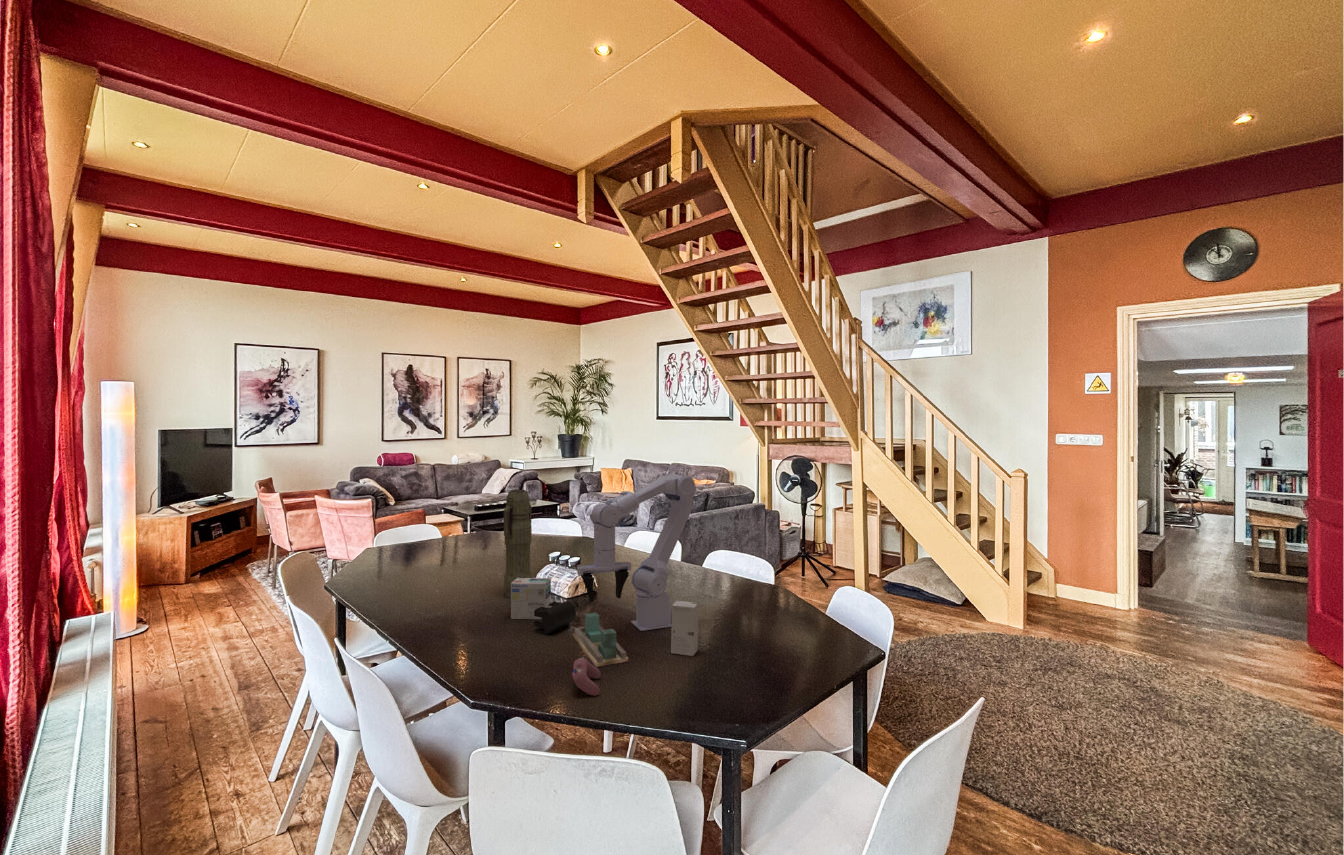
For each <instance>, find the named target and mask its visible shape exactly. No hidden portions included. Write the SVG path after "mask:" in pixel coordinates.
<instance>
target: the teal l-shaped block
mask: <svg viewBox="0 0 1344 855" xmlns="http://www.w3.org/2000/svg"><path fill="white" fill-rule="evenodd" d="M599 625H600V614H598V612H586V613H585V614H584V627H585V635H586V636H587V638H588V639H589V640H590V641H591V642H592V643H595V642H601V632H600V631H599Z"/></svg>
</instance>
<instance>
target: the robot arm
mask: <svg viewBox="0 0 1344 855" xmlns="http://www.w3.org/2000/svg"><path fill="white" fill-rule="evenodd" d="M697 490H698V489H697V486H696V484H695V481H694V478H693V477H691V475H689V474H683V475H681V474H676V473H675V474H673V473H669V472H668V473H665V474H664V475H661V476H659V477H658V478H656V479H655V480H653V481H652V482H650V483H649V484H647V485H645V486H643V487H642V488H640V489H638V490H636V491H635V492H632V491H629V490H628V491H626V490H623V491H621V492H620V495H617V496H616V497H614V498H612V499H611V498H609V499H606V502H605V503H601V502H600V503H598V504H596V505H594V506H593V508H592V509H591V512H590V514H589V519H590V520H591V522H592V524H593V563H592V564H587V565H581V566H577V571H576V572H577V576H580V577H581V579H582V582H583V583H584V586H585V589H586V593H587V597H588V601H589V602H590V603H593V602H594V581H595V578H594V577H593V574H601V573H603V574H604V573H611V572H614V577H615V597H616V598H617V599H621V598H622V593H623V589H624V585H625V583H626V582H627V579H628V578H629V573H630V572H629V571H632V563H631V562H629V561H619V562H618V561H616V525H618V523H619V521H620V520H621V519H622V518H624V517H626V516H628V515H630V514H631V513H633V512H636V511H637V510H638V509H639V506H640V504H642V503H644V502H646V501H648V500H650V499H652V498H654V497H657V496H659V495H662V494H663V495H664V497H666V499H667V500H668V502H669V504H670V507H671V509H670V511H669V513H668V516H667V518H666V520H665V523H663V524H664V525H663V527H662V529H661V531H660V533H659V536H658V537H657V539H656V542H655V544H654V546H653V549H652V550H651V553H650V555H649V556H648V557H647V558H645V559H644V560H643V561H641V562H640V564H639V566H638V567H637V568H636V569H635V570H634V571H633V573H632V575H631V584H632V586H633V587H634V588H635V593H636V595H635V597H636V601H635V603H636V605H635V607H636V609H635V610H636V611H635V612H636V613H635V614H636V615H635V616H636V620H631V624H632V625H633V626H635V627H636V628H637V629H638V630H639V631H640V632H644V631H650V630H658V629H663V628H670V627H671V628H672V603H671V602H672V601H671V597H670V595H669V593H668V592H666V589H667V586H668V578H669V575H670V572H669V568H668V566H667V565H668V563H669V561H670V558H671V557H672V554H673V551H674V549H675V547H676V546H677V543H678V541H679V538H680V537H681V534H682V532H683V530H684V527H685V526H686V524H687V521H688V519H689V517H690V514H691V513H692V509H693V504H694V503H693V502H694V501H693V500H694V497H695V494H696V492H697Z"/></svg>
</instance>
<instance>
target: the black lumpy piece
mask: <svg viewBox="0 0 1344 855" xmlns="http://www.w3.org/2000/svg"><path fill="white" fill-rule="evenodd" d="M549 606H551V608H545V607H540V608H537V609H535V611H534V616H536V617H541V618H542V619H541V621H539V620H534V621H533V623H534V624H533V626H534V627H535V629H534V630H535V633H538V634H542V635H548V634H550V633H553V632H555V631H557V630H560V629H561V628H564V627H566V626H568V625H569V624H571V623H572V622H574V621H575V619H576V615H577V611H576V607H575V604H573V603H572V602H571V601H568V600H565V601H563V602H558V601H552V602H551V603H550V604H549Z"/></svg>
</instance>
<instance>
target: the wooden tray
mask: <svg viewBox="0 0 1344 855" xmlns="http://www.w3.org/2000/svg"><path fill="white" fill-rule="evenodd" d="M599 631H600V632H601V642H595V643H592V642H591V641H590V640H589V639H588V638H587V636H586V635H585V626H580V627H574V632H573V633H572V638H573V639H574V640H575V641H576V642H578V643H577V644H578V645H579V647H580V648H581V649H582V650H583V652H584V653H585V654H586V656H587V657H588V659H589V660H590V661H591V662H592V664H593V665H594V666H595V667H596V668H598V667H602V666H607V665H608V666H609V665H615V664H620V663H621V664H622V663H626V662H629V657H628V656H627V652H626V651H625V649H624V648H623V647H622V646H621V645H620V644H619V643H618V642H617V632H616V631H615V629H613V628H609V629H608V628H607V629H605V628H604V627H603V626H602V625H601V624H599Z"/></svg>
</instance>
